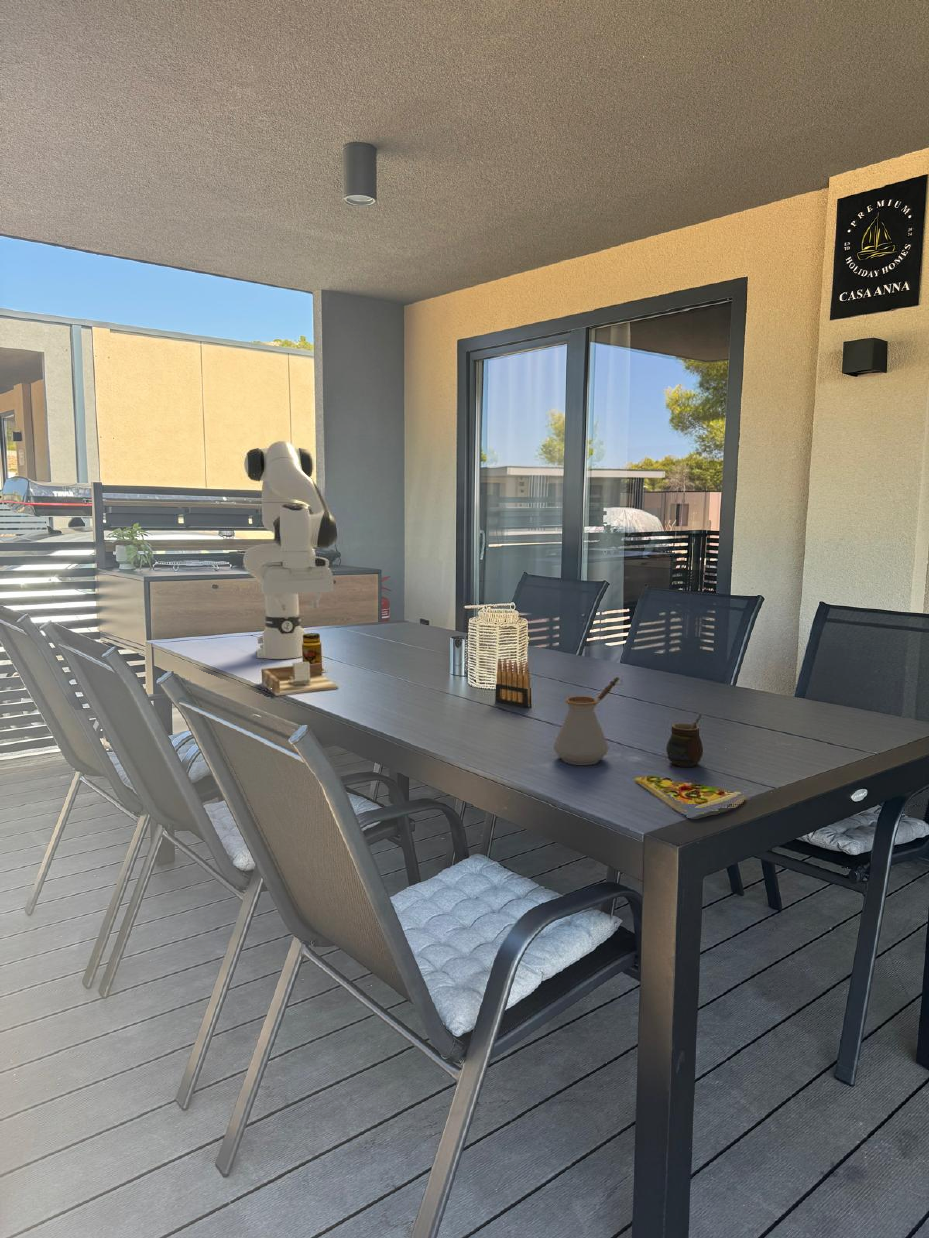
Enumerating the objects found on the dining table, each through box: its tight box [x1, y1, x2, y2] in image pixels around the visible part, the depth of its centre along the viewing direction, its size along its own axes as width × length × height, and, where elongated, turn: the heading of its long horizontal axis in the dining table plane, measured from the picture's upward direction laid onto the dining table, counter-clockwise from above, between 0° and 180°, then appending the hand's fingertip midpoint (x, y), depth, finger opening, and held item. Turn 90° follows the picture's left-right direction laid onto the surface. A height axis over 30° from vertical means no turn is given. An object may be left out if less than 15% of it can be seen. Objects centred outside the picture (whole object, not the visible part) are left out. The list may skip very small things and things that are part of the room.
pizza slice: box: [634, 774, 746, 814], centre depth 155 cm, size 16×21×3 cm
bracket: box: [289, 661, 311, 686], centre depth 246 cm, size 7×4×6 cm, turn 25°
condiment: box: [301, 632, 328, 673], centre depth 267 cm, size 7×8×12 cm
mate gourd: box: [665, 713, 704, 768], centre depth 173 cm, size 7×8×10 cm
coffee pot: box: [553, 676, 624, 766], centre depth 180 cm, size 21×12×15 cm, turn 140°
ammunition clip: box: [494, 657, 533, 709], centre depth 222 cm, size 11×2×12 cm, turn 51°
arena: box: [260, 663, 339, 697], centre depth 247 cm, size 18×18×4 cm
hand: (298, 609), depth 241 cm, fingers open, 8 cm apart
